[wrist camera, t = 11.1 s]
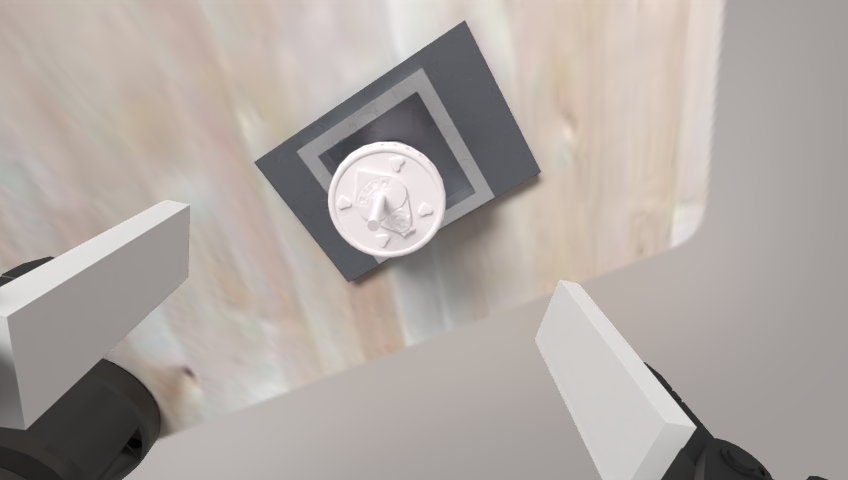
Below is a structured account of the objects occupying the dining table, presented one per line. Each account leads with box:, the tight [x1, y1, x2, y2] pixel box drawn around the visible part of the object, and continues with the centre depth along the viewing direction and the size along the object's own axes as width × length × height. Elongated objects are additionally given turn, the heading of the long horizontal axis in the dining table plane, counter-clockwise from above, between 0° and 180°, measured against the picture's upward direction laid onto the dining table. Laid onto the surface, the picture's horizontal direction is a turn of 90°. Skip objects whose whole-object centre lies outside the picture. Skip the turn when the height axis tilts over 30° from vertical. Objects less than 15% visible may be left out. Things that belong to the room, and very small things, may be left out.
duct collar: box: [254, 20, 541, 282], centre depth 30 cm, size 18×12×4 cm, turn 121°
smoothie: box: [328, 141, 446, 258], centre depth 24 cm, size 6×6×14 cm
